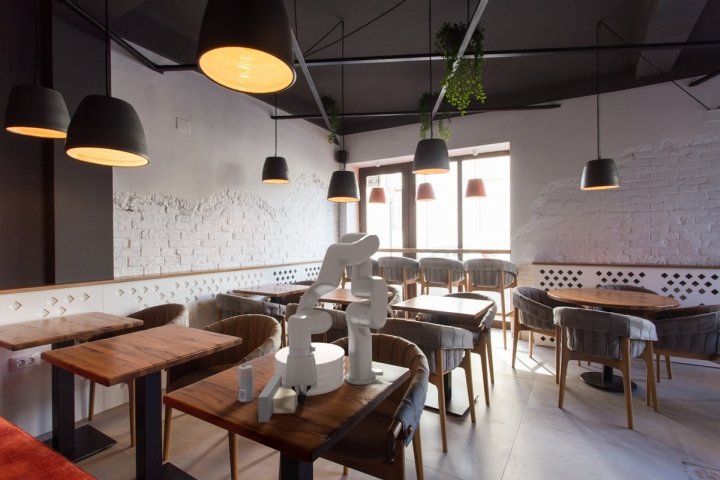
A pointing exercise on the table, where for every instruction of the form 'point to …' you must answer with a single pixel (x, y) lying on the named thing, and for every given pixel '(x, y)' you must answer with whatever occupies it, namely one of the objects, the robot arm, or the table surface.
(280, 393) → the cream block
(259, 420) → the gray board
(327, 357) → the plate stack
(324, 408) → the table surface
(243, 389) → the energy drink
